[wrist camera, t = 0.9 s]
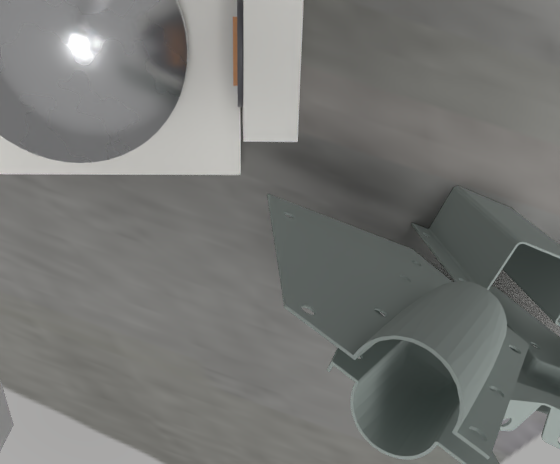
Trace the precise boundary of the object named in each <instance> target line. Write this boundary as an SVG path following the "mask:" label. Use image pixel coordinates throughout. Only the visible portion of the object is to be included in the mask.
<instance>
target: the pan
mask: <svg viewBox="0 0 560 464" xmlns="http://www.w3.org/2000/svg"><path fill="white" fill-rule="evenodd" d="M188 50H189V47H188V38H187V30H186V26H185V21H184V17H183V14H182V11H181V8H180V5H179V3H178V0H0V136H2V137H3V138H5V139H6V140H7V141H9V142H11V143H13V144H14V145H16V146H18V147H20V148H21V149H24V150H26V151H28V152H31V153H33V154H35V155H38V156H42V157H45V158H48V159H52V160H57V161H62V162H71V163H91V162H99V161H105V160H110V159H113V158H116V157H119V156H122V155H124V154H126V153H128V152H130V151H132V150H134V149H136V148H138V147H139V146H141V145H142V144H144V143H145V142H147V141H148V140H149V139H150V138H151V137H152V136H153V135H154V134H156V133H157V132H158V131H159V129H160V128H161V127H162V126H163V125H164V123H165V122H166V121H167V119H168V118H169V116H170V115H171V113H172V111H173V110H174V108H175V106H176V104H177V102H178V100H179V97H180V95H181V93H182V90H183V86H184V83H185V80H186V74H187V68H188Z"/></svg>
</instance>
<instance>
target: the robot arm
mask: <svg viewBox="0 0 560 464" xmlns="http://www.w3.org/2000/svg"><path fill="white" fill-rule="evenodd" d="M12 427H13V421H12V418H11V415H10V411H9V407H8V404H7V401H6V397H5V394H4V390H3V387H2V384H1V380H0V451H1V449H2V447H3V445H4V443H5V441H6V439H7V437H8V435H9V433H10V431H11V429H12Z"/></svg>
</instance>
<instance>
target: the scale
mask: <svg viewBox="0 0 560 464" xmlns="http://www.w3.org/2000/svg"><path fill="white" fill-rule="evenodd" d="M178 3H179V5H180V8H181V11H182V14H183V17H184V21H185V26H186V30H187V38H188V47H189V50H188V68H187V74H186V80H185V83H184V86H183V90H182V93H181V95H180V97H179V100H178V102H177V104H176V106H175V108H174V110H173V111H172V113H171V115H170V116H169V118H168V119H167V121H166V122H165V123H164V125H163V126H162V127H161V128H160V129H159V131H158V132H157V133H156V134H154V135H153V136H152V137H151V138H150V139H149V140H148V141H147V142H145V143H144V144H142V145H141V146H139V147H138V148H136V149H134V150H132V151H130V152H128V153H126V154H124V155H122V156H119V157H116V158H113V159H110V160H105V161H99V162H91V163H71V162H62V161H57V160H52V159H48V158H45V157H42V156H38V155H35V154H33V153H31V152H28V151H26V150H24V149H21V148H20V147H18V146H16V145H14V144H13V143H11V142H9V141H7V140H6V139H5V138H3V137H2V136H0V174H95V175H241V116H240V107H242V121H243V140H244V142H298V121H299V97H300V74H301V50H302V27H303V3H304V0H178Z"/></svg>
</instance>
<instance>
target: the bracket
mask: <svg viewBox="0 0 560 464" xmlns="http://www.w3.org/2000/svg"><path fill="white" fill-rule="evenodd" d="M267 198H268V205H269V211H270V218H271V224H272V231H273V237H274V244H275V250H276V257H277V263H278V270H279V276H280V282H281V289H282V295H283V302H284V308H285V309H287V310H288V311H289V312H291V313H292V314H293V315H295V316H296V317H297V318H299V319H300V320H302V321H303V322H304V323H306V324H307V325H308V326H310V327H311V328H312V329H314V330H315V331H316V332H318V333H319V334H320V335H322V336H323V337H324V338H326V339H327V340H328V341H330V342H331V343H332V344H334V345H335V346H336V347H338V348H337V350H336V352H335V354H334V357H333V359H332V361H331V363H330V365H329V367H328V369H327V371H328V372H330V370H331V368H332V367H333V365H334V366H335V367H336V368H338V369H339V370H340V371H341V372H343V373H344V374H345V375H347V376H348V377H349V378H351V379H352V380H353V381H354V382H356V383H355V385H354V387H353V389H352V394H351V399H350V404H351V412H352V417H353V419H354V422H355V424H356V426H357V429H358V430H359V431H360V433H361V434H362V436H363V437H364V438H365V439H366V440H367V441H368V442H369V443H370V444H371V445H372V446H373V447H374V448H376V449H377V450H379V451H380V452H382V453H384V454H386V455H388V456H391V457H394V458H397V459H416V458H420V457H422V456H424V455H426V454H428V453H430V452H431V451H432V450H433V449H434V448H435V447H436V446H437V445H438V446H439V447H441V448H442V449H443V450H445V451H446V452H447V453H449V454H450V455H451V456H453V457H454V458H455V459H456V460H458V461H459V462H460V463H462V464H499V462H498V460H497V459H496V457H495V455H494V453H493V452H492V450H493V447H494V444H495V441H496V439H497V436H498V433H499V430H500V431H512V430H514V429H516V428H517V427H518V426H519V425H520V424H521V423H522V422H523V421H524V420H526V419H527V418H528V417H529V416H530V415H531V414H532V413H533V412H534V411H535V410H536V411H539V412H542V413H545V414H548V416H547V419H546V422H545V425H544V429H543V432H542V440H543V441H544V442H546V443H548V444H550V445H552V446H554V447H556V448H558V449H560V443H559V442H558V438H559V437H560V337H559V336H557V335H556V334H555V333H554V332H552V331H551V330H550V329H549V328H547V327H546V326H545V325H543V324H542V323H541V322H540V321H538V320H537V319H536V318H535V317H533V316H532V315H531V314H529V313H528V312H527V311H526V310H524V309H523V308H522V307H521V306H519V305H518V304H517V303H515V302H514V301H513V300H512V299H510V298H509V297H508V296H507V295H505V294H504V293H503V292H502V291H500V290H499V289H498V288H496V287H494V286H491V285H492V284H493V282H494V281H495V279H496V278H497V276H498V275H499V273H500V272H501V270H502V269H503V270H504V271H505V272H506V273H507V274H508V275H509V276H510V277H511V278H512V279H513V280H514V281H515V282H516V284H517V285H518V286H519V287H520V288H521V289H522V290H523V291H524V292H525V293H526V294H527V295H528V296H529V297H530V298H531V299H532V300H533V301H534V302H535V303H536V304H537V305H538V306H539V307H540V308H541V309H542V310H543V311H544V312H545V313H546V314H547V315H548V316H549V317H550V318H551V319H552V321H553V322H554V323H555V324H556V325H558V326H560V245H559V244H558V243H556V242H555V241H554V240H552V239H551V238H550V237H548V236H547V235H546V234H545V233H543V232H542V231H541V230H539V229H538V228H537V227H536V226H534V225H533V224H532V223H530V222H529V221H528V220H527V219H525V218H524V217H523V216H521V215H520V214H519V213H517V212H516V211H515V210H514V209H512V208H510V207H508V206H506V205H503V204H501V203H498V202H496V201H494V200H491V199H489V198H487V197H484V196H482V195H479V194H477V193H475V192H472V191H470V190H468V189H465V188H463V187H460V186H456V187H454V188H453V189H452V191H451V193H450V194H449V196H448V198H447V199H446V201H445V203H444V204H443V206H442V208H441V210H440V211H439V213H438V215H437V216H436V218H435V220H434V221H433V223H432V225H431V226H430V228H428V229H427V228H424V227H421V226H419V225H416V224H414V223H412V224H411V225H412V226H413V227H414V229H415V230H416V231H417V233H418V234H419V235H420V237H421V238H422V239H423V240H424V242H425V243H426V244H427V246H428V247H429V248H430V250H431V251H432V252H433V254H434V255H435V256H436V258H437V259H438V260H439V262H440V263H441V264H442V265H443V267H444V268H445V269H446V271H447V272H448V273H449V275H450V276H451V277H452V279H453V280H454V281H455V282H452V281H451V280H450V279H448V278H447V277H446V276H445V275H443V274H442V273H441V272H440V271H439V270H437V269H436V268H435V267H434V266H432V265H431V264H430V263H429V262H427V261H426V260H425V259H424V258H423V257H421V256H420V255H419V254H418V253H416V252H415V251H414V250H413V249H411V248H408V247H406V246H403V245H401V244H398V243H395V242H393V241H390V240H388V239H385V238H382V237H380V236H377V235H375V234H372V233H369V232H367V231H364V230H362V229H359V228H356V227H354V226H351V225H349V224H346V223H343V222H341V221H338V220H335V219H333V218H330V217H328V216H325V215H322V214H320V213H317V212H315V211H312V210H309V209H307V208H304V207H302V206H299V205H296V204H294V203H291V202H289V201H286V200H283V199H281V198H278V197H276V196H273V195H270V194H268V195H267ZM285 214H286V215H289V216H291V217H292V218H290V217H288V216H286V215H285ZM427 236H428V237H427ZM460 280H461V281H460ZM302 307H304V308H308V309H310V310H311V311H312V312H314V315H311V314H308V313H306V312H305V311H303V310H302ZM380 312H381V313H383V314H384V315H385V316H383V315H381V314H380ZM532 344H533V345H535V346H536V347H537V348H536V347H534V346H533V345H532ZM359 356H360V357H361V359H357V358H358V357H359ZM507 418H510V420H509V421H508V422H507V423H506V424H504V425H501V424H502V422H503V421H504V420H505V419H507Z"/></svg>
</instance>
